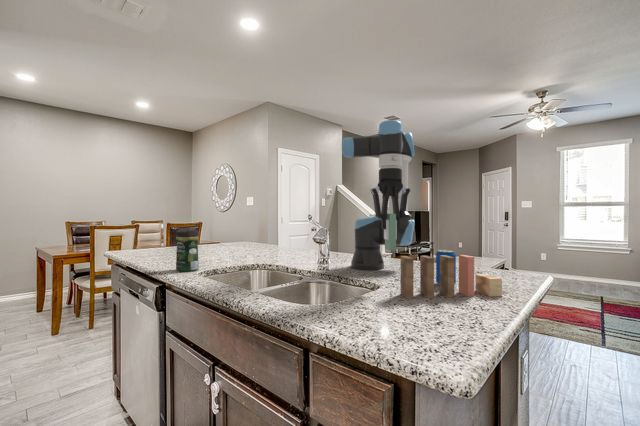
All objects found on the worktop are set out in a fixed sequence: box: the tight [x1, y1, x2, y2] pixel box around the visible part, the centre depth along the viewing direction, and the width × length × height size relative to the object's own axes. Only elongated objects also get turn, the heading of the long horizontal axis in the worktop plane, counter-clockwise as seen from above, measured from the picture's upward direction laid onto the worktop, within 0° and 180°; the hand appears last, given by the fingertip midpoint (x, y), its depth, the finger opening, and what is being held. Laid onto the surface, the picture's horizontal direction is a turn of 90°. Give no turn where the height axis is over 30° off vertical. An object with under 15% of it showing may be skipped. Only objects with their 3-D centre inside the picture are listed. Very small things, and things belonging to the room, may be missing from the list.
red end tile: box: [458, 254, 475, 297], centre depth 98 cm, size 5×2×12 cm, turn 7°
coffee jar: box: [175, 227, 200, 273], centre depth 138 cm, size 10×8×19 cm
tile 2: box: [400, 255, 414, 300], centre depth 95 cm, size 5×2×12 cm, turn 7°
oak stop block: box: [475, 273, 503, 297], centre depth 99 cm, size 7×4×5 cm, turn 7°
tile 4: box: [439, 255, 455, 298], centre depth 97 cm, size 5×2×12 cm, turn 7°
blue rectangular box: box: [435, 249, 457, 286], centre depth 111 cm, size 6×6×12 cm
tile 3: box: [419, 255, 435, 299], centre depth 96 cm, size 5×2×12 cm, turn 7°
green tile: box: [384, 214, 397, 252], centre depth 104 cm, size 5×2×12 cm, turn 7°
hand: (390, 238), depth 104 cm, fingers closed on green tile, 2 cm apart
